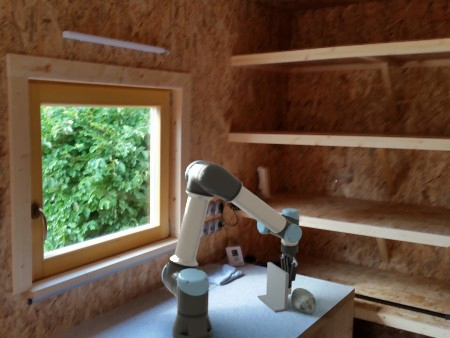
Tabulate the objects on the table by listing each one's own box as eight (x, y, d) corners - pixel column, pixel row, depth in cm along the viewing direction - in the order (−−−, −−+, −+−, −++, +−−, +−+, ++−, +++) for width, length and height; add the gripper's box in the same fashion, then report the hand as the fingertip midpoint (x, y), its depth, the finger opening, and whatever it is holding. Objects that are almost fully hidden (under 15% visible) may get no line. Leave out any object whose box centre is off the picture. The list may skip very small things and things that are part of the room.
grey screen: (275, 312, 194) (276, 275, 192) (257, 297, 209) (258, 263, 206) (287, 310, 196) (288, 273, 194) (269, 295, 211) (270, 262, 209)
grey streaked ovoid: (323, 308, 191) (312, 286, 191) (304, 320, 190) (292, 298, 190) (313, 302, 205) (302, 282, 205) (295, 313, 203) (284, 293, 203)
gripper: (304, 246, 201) (302, 298, 205) (289, 238, 213) (287, 287, 216) (289, 248, 199) (287, 300, 202) (275, 240, 211) (273, 289, 214)
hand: (287, 293), depth 209 cm, fingers closed
